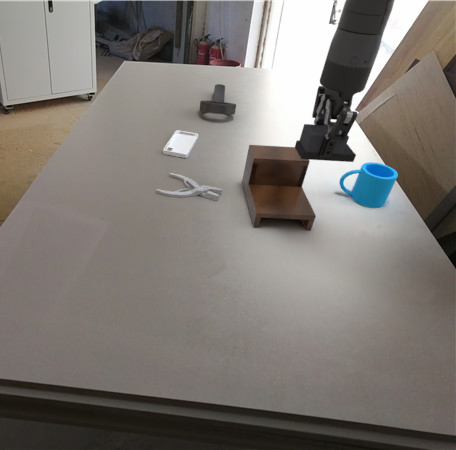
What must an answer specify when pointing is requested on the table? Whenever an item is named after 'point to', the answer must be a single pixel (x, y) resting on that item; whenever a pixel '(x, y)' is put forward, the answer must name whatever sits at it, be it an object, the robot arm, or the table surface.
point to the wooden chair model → (276, 185)
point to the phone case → (180, 144)
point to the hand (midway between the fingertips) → (319, 149)
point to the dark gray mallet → (218, 103)
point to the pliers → (197, 190)
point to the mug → (371, 184)
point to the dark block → (313, 141)
